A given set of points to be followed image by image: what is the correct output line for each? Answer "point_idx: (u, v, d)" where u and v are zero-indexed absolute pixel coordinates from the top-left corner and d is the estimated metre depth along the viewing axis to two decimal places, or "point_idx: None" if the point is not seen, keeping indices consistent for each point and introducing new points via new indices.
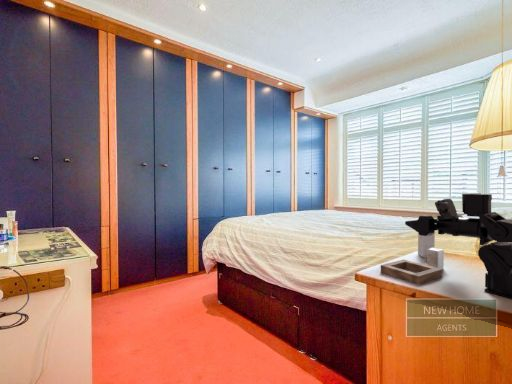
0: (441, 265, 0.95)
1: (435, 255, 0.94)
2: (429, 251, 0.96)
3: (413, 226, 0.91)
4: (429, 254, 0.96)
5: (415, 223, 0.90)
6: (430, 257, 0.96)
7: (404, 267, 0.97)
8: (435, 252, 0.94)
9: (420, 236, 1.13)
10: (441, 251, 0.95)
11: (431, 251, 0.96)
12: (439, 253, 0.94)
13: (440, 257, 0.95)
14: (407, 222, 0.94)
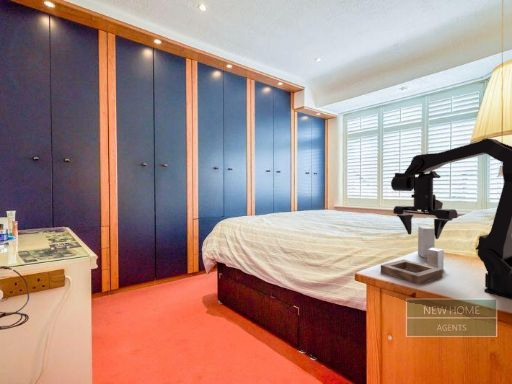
0: (441, 265, 0.95)
1: (435, 255, 0.94)
2: (429, 251, 0.96)
3: None
4: (429, 254, 0.96)
5: None
6: (430, 257, 0.96)
7: (404, 267, 0.97)
8: (435, 252, 0.94)
9: (420, 236, 1.13)
10: (441, 251, 0.95)
11: (431, 251, 0.96)
12: (439, 253, 0.94)
13: (440, 257, 0.95)
14: None
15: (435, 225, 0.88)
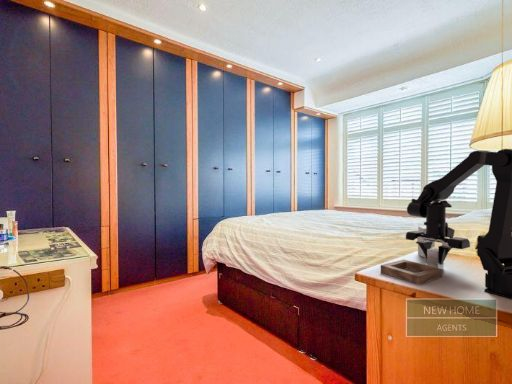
0: (441, 265, 0.95)
1: (435, 255, 0.94)
2: (429, 251, 0.96)
3: None
4: (429, 254, 0.96)
5: None
6: (430, 257, 0.96)
7: (404, 267, 0.97)
8: (435, 252, 0.94)
9: None
10: None
11: (431, 251, 0.96)
12: None
13: None
14: None
15: (439, 252, 0.93)
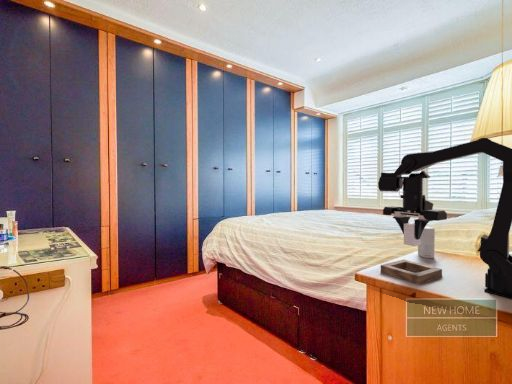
0: (418, 240, 0.90)
1: (412, 229, 0.89)
2: (406, 225, 0.91)
3: None
4: (405, 229, 0.91)
5: None
6: (407, 232, 0.91)
7: (404, 267, 0.97)
8: (411, 226, 0.89)
9: None
10: None
11: (408, 225, 0.90)
12: None
13: None
14: None
15: (415, 225, 0.87)
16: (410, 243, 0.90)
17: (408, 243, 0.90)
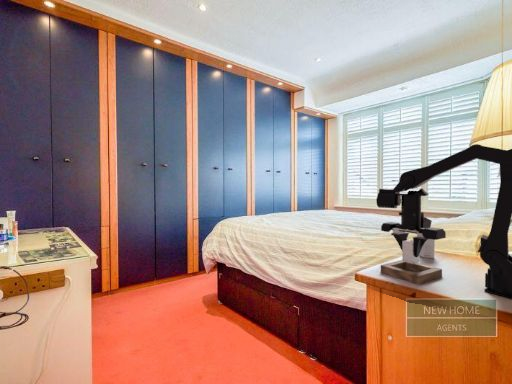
0: (417, 257, 0.89)
1: (410, 247, 0.89)
2: (405, 242, 0.91)
3: None
4: (404, 246, 0.91)
5: None
6: (405, 249, 0.90)
7: (404, 267, 0.97)
8: (410, 244, 0.89)
9: None
10: None
11: (406, 243, 0.90)
12: None
13: None
14: None
15: (414, 243, 0.87)
16: (409, 260, 0.89)
17: (407, 260, 0.90)
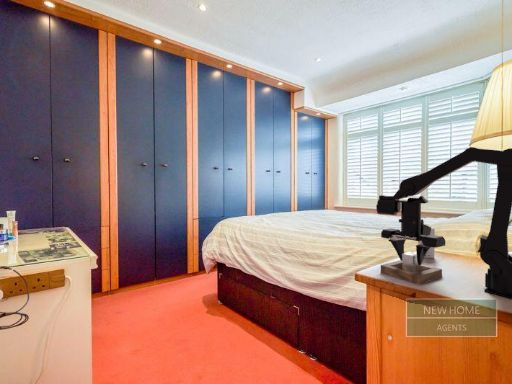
0: (416, 271, 0.90)
1: (410, 260, 0.89)
2: (404, 255, 0.91)
3: None
4: (404, 259, 0.91)
5: None
6: (405, 262, 0.91)
7: None
8: (410, 257, 0.89)
9: None
10: (416, 256, 0.89)
11: (406, 256, 0.90)
12: (414, 258, 0.89)
13: (415, 262, 0.89)
14: None
15: (417, 251, 0.86)
16: None
17: None
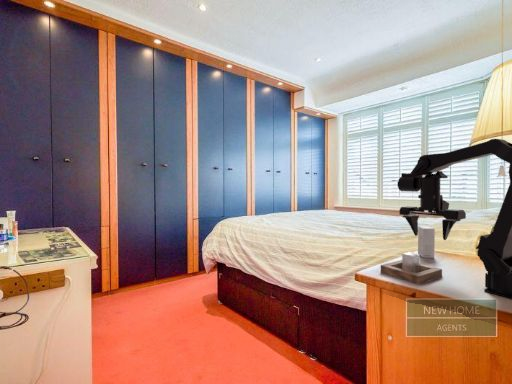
0: (416, 271, 0.90)
1: (410, 260, 0.89)
2: (404, 255, 0.91)
3: None
4: (404, 259, 0.91)
5: None
6: (405, 262, 0.91)
7: None
8: (410, 257, 0.89)
9: (420, 236, 1.13)
10: (416, 256, 0.89)
11: (406, 256, 0.90)
12: (414, 258, 0.89)
13: (415, 262, 0.89)
14: None
15: (443, 226, 0.87)
16: None
17: None
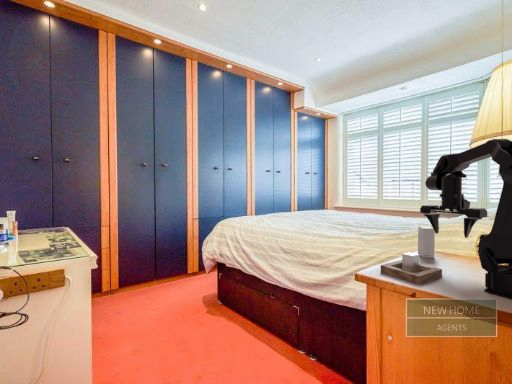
0: (416, 271, 0.90)
1: (410, 260, 0.89)
2: (404, 255, 0.91)
3: None
4: (404, 259, 0.91)
5: None
6: (405, 262, 0.91)
7: None
8: (410, 257, 0.89)
9: (420, 236, 1.13)
10: (416, 256, 0.89)
11: (406, 256, 0.90)
12: (414, 258, 0.89)
13: (415, 262, 0.89)
14: None
15: (465, 224, 0.89)
16: None
17: None
